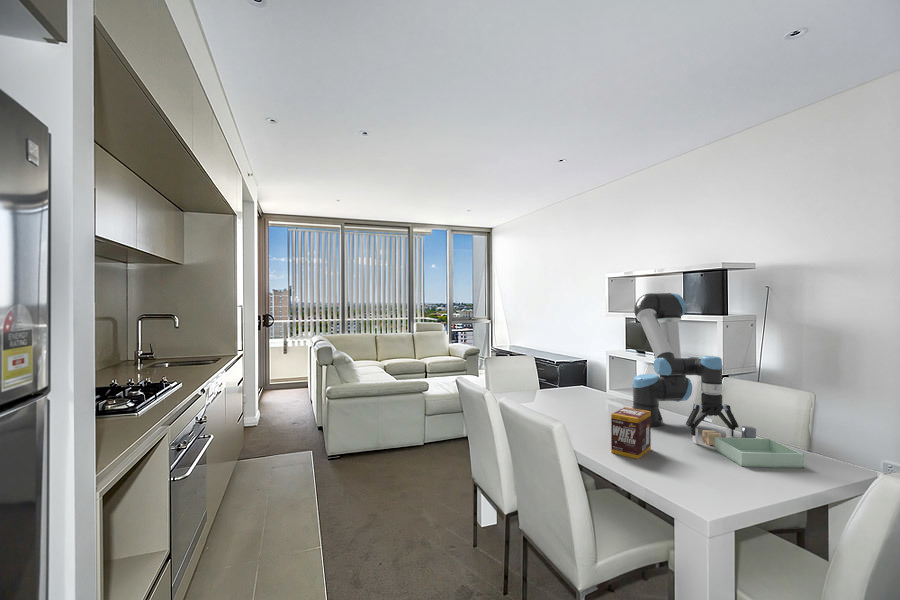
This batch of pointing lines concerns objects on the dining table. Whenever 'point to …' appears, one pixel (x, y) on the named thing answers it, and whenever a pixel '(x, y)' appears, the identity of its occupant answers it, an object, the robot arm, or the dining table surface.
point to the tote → (759, 452)
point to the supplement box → (631, 432)
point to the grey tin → (748, 432)
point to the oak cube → (709, 437)
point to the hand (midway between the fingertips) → (712, 443)
